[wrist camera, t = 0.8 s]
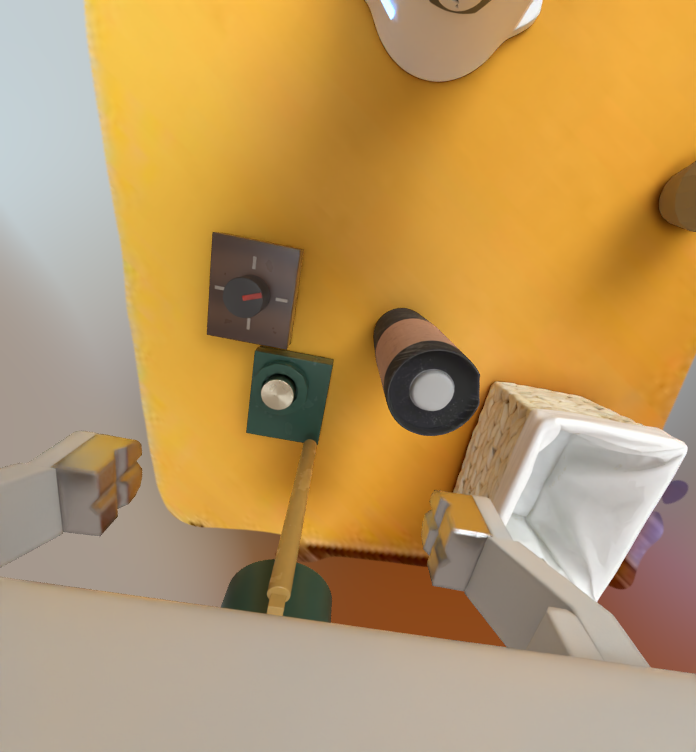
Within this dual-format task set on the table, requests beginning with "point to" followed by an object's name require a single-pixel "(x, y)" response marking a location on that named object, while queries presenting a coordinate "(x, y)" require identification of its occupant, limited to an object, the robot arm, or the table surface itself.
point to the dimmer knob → (246, 296)
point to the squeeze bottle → (680, 199)
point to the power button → (278, 392)
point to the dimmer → (274, 269)
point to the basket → (568, 477)
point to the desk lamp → (285, 565)
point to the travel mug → (424, 374)
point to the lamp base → (308, 400)
